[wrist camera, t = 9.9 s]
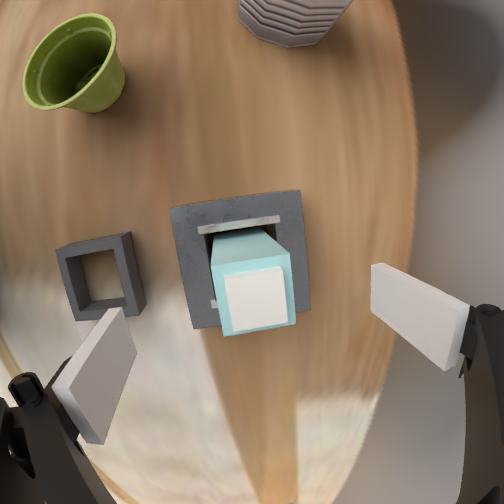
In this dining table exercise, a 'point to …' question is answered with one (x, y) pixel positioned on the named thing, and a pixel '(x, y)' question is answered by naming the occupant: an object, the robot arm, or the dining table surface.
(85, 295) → the holster
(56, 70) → the plant pot
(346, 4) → the can
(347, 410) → the dining table surface
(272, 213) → the port block
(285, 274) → the plug
